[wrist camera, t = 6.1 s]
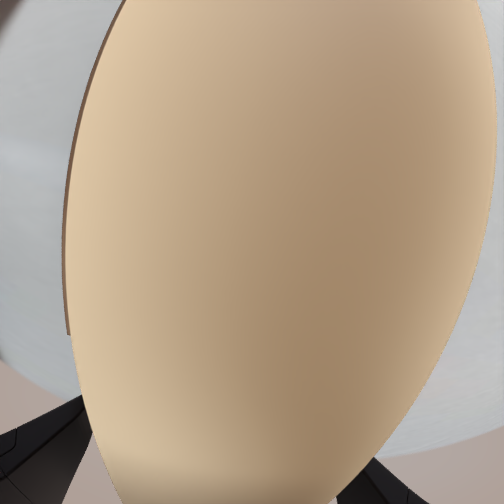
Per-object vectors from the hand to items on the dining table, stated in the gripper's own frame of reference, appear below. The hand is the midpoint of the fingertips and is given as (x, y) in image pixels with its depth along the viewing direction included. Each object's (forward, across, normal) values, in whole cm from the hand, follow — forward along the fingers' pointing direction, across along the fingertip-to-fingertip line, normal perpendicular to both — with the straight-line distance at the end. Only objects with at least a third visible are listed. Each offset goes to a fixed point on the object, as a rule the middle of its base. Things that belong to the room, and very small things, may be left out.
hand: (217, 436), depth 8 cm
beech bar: (+1, 0, -8) cm, 8 cm away
